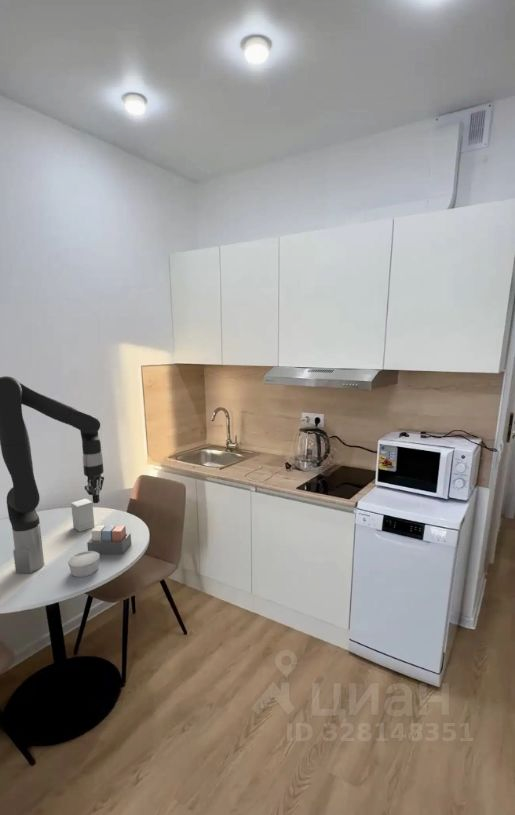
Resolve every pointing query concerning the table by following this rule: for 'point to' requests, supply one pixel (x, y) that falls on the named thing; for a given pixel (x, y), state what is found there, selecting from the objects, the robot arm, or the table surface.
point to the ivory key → (97, 533)
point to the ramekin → (84, 563)
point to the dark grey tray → (110, 546)
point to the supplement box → (82, 514)
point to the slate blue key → (107, 533)
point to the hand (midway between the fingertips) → (96, 502)
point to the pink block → (119, 533)
